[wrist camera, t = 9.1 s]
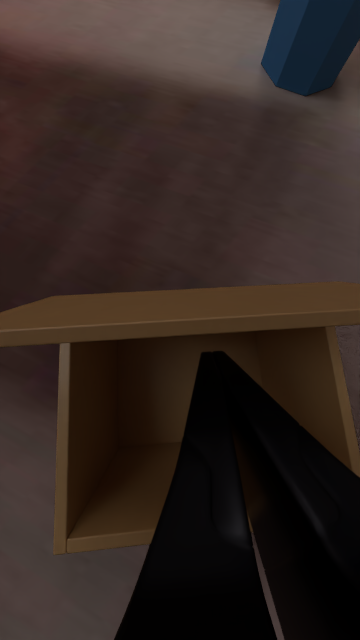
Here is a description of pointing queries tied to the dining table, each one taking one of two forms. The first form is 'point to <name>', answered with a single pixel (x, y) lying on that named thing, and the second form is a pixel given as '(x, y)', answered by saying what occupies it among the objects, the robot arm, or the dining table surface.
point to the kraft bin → (171, 421)
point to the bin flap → (180, 313)
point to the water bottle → (311, 43)
